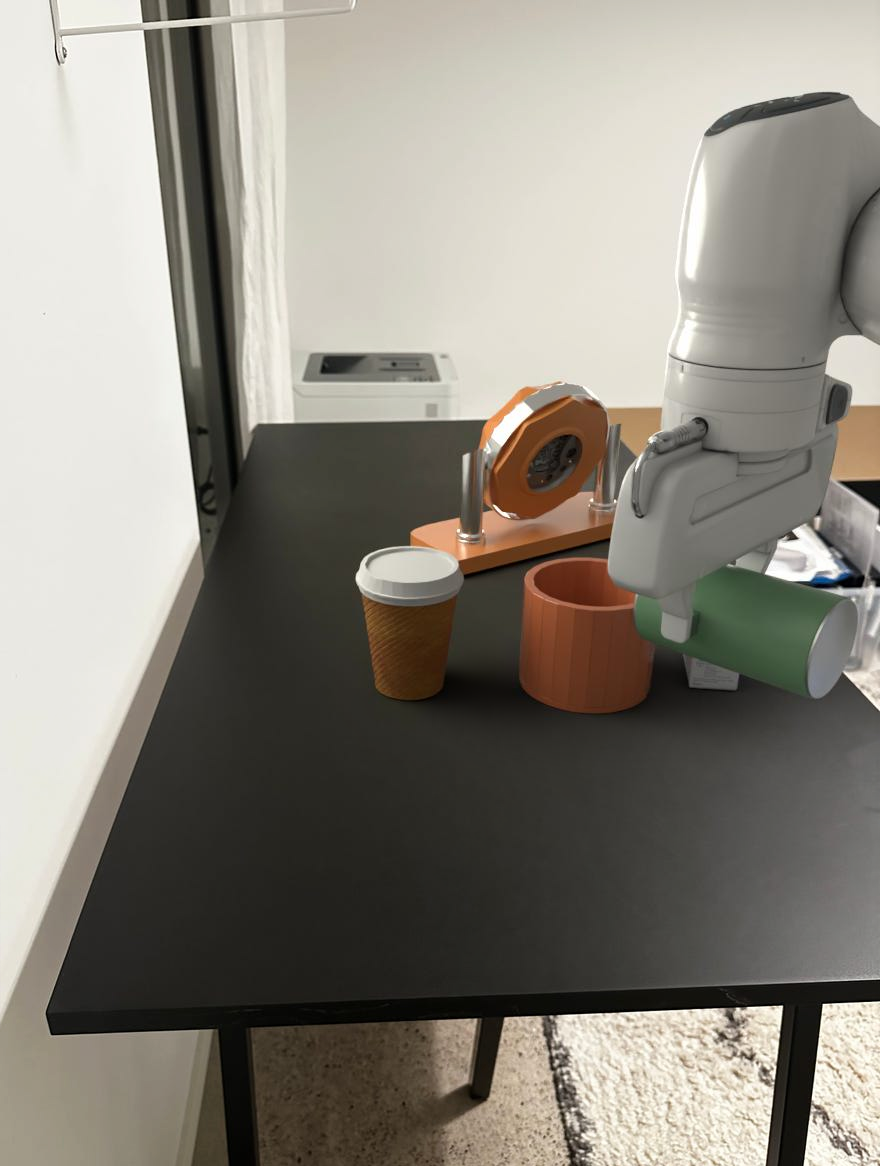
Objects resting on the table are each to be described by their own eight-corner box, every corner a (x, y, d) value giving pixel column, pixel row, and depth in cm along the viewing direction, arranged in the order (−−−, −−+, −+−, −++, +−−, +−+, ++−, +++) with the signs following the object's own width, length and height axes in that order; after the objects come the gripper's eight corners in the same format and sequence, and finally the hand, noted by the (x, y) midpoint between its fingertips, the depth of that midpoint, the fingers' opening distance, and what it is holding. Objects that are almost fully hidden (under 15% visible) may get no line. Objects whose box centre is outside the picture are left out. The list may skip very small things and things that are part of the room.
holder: (675, 681, 97) (688, 582, 92) (598, 728, 89) (609, 622, 85) (571, 641, 104) (578, 547, 100) (492, 680, 97) (497, 581, 93)
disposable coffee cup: (337, 681, 97) (333, 561, 92) (414, 651, 102) (415, 536, 97) (402, 721, 90) (403, 594, 85) (482, 687, 96) (487, 566, 91)
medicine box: (737, 692, 95) (751, 606, 91) (686, 689, 96) (698, 602, 92) (726, 654, 102) (739, 572, 98) (679, 650, 103) (690, 569, 99)
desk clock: (652, 532, 133) (670, 372, 124) (460, 581, 118) (465, 405, 109) (587, 506, 142) (600, 355, 133) (402, 548, 127) (402, 383, 119)
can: (849, 676, 65) (865, 583, 62) (800, 717, 61) (816, 619, 58) (681, 621, 73) (689, 536, 70) (629, 653, 69) (635, 565, 66)
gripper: (692, 451, 53) (665, 690, 59) (866, 385, 66) (829, 587, 72) (590, 429, 57) (574, 655, 63) (772, 371, 70) (745, 563, 76)
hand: (711, 618), depth 67 cm, fingers closed on can, 6 cm apart
